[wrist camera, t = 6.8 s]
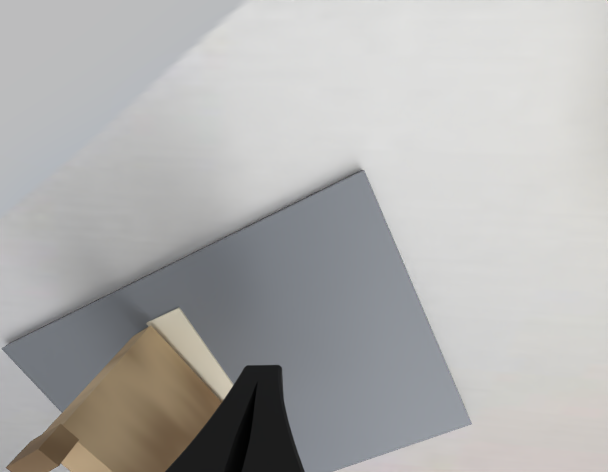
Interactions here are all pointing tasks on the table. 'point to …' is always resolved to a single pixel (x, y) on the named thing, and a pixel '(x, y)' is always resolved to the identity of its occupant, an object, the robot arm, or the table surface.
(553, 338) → the table surface
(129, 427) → the fence panel
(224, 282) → the card
